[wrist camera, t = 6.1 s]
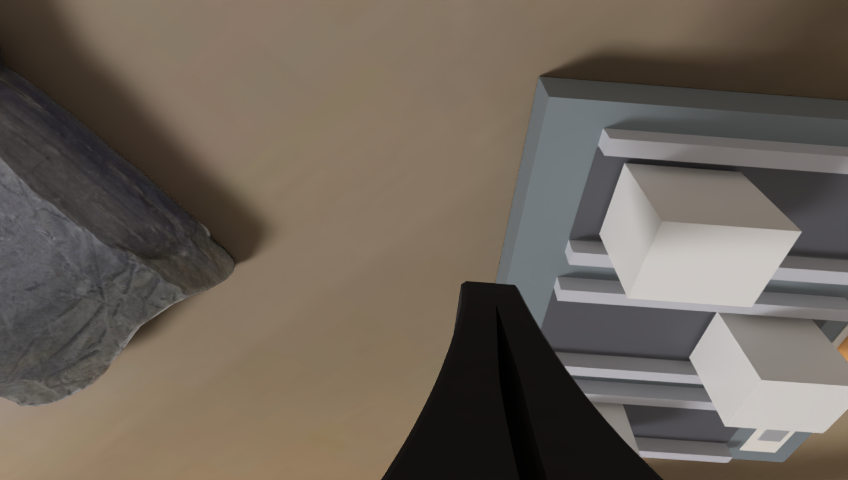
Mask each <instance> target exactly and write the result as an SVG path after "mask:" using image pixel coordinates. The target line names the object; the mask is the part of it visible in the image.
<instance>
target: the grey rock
mask: <svg viewBox="0 0 848 480" xmlns="http://www.w3.org/2000/svg"><path fill="white" fill-rule="evenodd" d="M234 267H235V264H234V261H233V258H232V257H231V255H230V254H229V253H228V252H227V251H226V250H225V249H224V248H223V247H221V246H220V245H218V244H217V243H215V242H214V241H213V239H212V237H211V234H210V232H209V230H208V229H207V228H206V227H205V226H204V225H202V224H201V223H200V222H198V221H197V220H196V219H194V218H193V217H192V216H191V215H189V214H188V213H187V212H186V211H184V210H183V209H182V208H181V207H180V206H179V205H178V204H176V203H175V202H174V201H173V200H172V199H171V198H170V197H169V196H168V195H166V194H165V193H164V192H163V191H162V190H161V189H160V188H158V187H157V186H156V185H155V184H154V183H153V182H151V181H150V180H149V179H148V178H147V177H146V176H145V175H144V174H143V173H141V172H140V171H139V170H138V169H137V168H136V167H134V166H133V165H132V164H131V163H129V162H128V161H127V160H126V159H124V158H123V157H122V156H121V155H119V154H118V153H117V152H116V151H115V150H113V149H112V148H111V147H110V146H109V145H107V144H106V143H105V142H104V141H103V140H102V139H100V138H99V137H98V136H97V135H96V134H94V133H93V132H92V131H91V130H90V129H88V128H87V127H86V126H85V125H84V124H82V123H81V122H80V121H79V120H78V119H76V118H75V117H74V116H73V115H72V114H70V113H69V112H68V111H66V110H65V109H64V108H63V107H62V106H60V105H59V104H58V103H57V102H55V101H54V100H53V99H52V98H50V97H49V96H48V95H46V94H45V93H44V92H42V91H41V90H40V89H38V88H37V87H36V86H34V85H33V84H32V83H30V82H29V81H28V80H26V79H25V78H23V77H22V76H20V75H18V74H17V73H15V72H14V71H12V70H10V69H9V68H7V67H6V66H5V65H4V64H3V63H2V56H1V48H0V396H1V397H4V398H6V399H9V400H11V401H14V402H16V403H17V404H18V405H20V406H40V405H45V404H50V403H53V402H56V401H59V400H62V399H64V398H67V397H69V396H71V395H72V394H74V393H76V392H78V391H80V390H83V389H85V388H87V387H88V386H90V385H91V384H93V383H94V382H95V381H96V380H97V379H98V378H99V377H101V376H102V375H103V374H104V373H105V372H106V370H107V369H108V367H109V366H110V364H111V362H112V361H113V360H114V359H115V358H116V357H117V356H118V355H119V354H120V353H121V351H122V350H123V349H124V348H125V346H126V345H127V343H128V342H129V341H130V339H131V338H132V337H133V335H134V334H135V333H136V331H137V330H138V329H139V327H140V326H142V325H143V324H145V323H146V322H148V321H149V320H151V319H152V318H154V317H155V316H157V315H158V314H160V313H161V312H163V311H164V310H166V309H167V308H169V307H170V306H172V305H173V304H175V303H177V302H179V301H182V300H184V299H186V298H189V297H191V296H194V295H196V294H198V293H201V292H203V291H206V290H208V289H210V288H212V287H214V286H216V285H218V284H220V283H221V282H223V281H224V280H226V279H227V278H228V277H229V276H230V275H231V273H232V272H233V270H234Z"/></svg>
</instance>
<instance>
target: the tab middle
mask: <svg viewBox="0 0 848 480" xmlns="http://www.w3.org/2000/svg"><path fill="white" fill-rule="evenodd" d="M689 358H690V360H691V362H692V364H693V366H694V368H695V370H696V372H697V374H698V375H699V377H700V379H701V381H702V383H703V385H704V387H705V389H706V391H707V393H708V395H709V397H710V399H711V401H712V402H713V404H714V406H715V408H716V410H717V412H718V414H719V416H720V418H721V420H722V422H723V424H724V426H725V427H739V428H754V429H768V430H782V431H797V432H811V433H824V432H825V431H826V430H827V429H828V428H829V427H830V426H831V425H832V424H833V423H834V422H835V421H836V420H837V419H838V418H839V417H840V416H841V415H842V414H843V413H844V412H845V411H846V410H847V409H848V362H847V360H846V359H845V358H844V357H843V356H842V355H841V353H840V352H839V351H838V350H837V349H836V347H835V346H834V345H833V344H832V343H831V342H830V340H829V339H828V338H827V337H826V336H825V334H824V333H823V332H822V331H821V330H820V329H819V327H818V326H817V325H816V324H815V323H814V321H813V320H812V319H804V318H790V317H776V316H762V315H749V314H735V313H721V312H717V313H716V314H715V316H714V318H713V319H712V321H711V323H710V324H709V326H708V327H707V329H706V331H705V332H704V334H703V336H702V337H701V339H700V341H699V342H698V344H697V345H696V347H695V349H694V350H693V352H692V354H691V355H690V357H689Z"/></svg>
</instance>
